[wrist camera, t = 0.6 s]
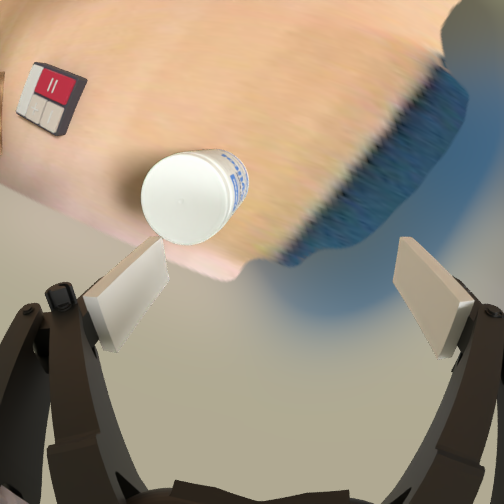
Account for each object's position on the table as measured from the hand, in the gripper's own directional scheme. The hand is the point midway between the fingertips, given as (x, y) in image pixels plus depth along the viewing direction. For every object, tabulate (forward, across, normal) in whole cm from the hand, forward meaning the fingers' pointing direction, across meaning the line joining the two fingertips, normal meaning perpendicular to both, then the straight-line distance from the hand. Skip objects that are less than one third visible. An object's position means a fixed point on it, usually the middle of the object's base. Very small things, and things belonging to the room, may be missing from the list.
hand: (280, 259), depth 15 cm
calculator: (+27, -41, +21) cm, 53 cm away
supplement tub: (+27, -10, 0) cm, 28 cm away
